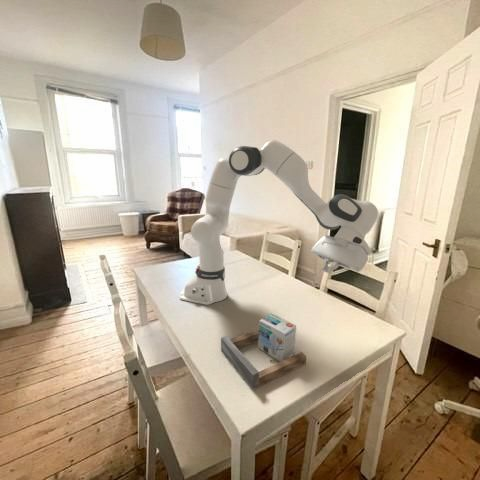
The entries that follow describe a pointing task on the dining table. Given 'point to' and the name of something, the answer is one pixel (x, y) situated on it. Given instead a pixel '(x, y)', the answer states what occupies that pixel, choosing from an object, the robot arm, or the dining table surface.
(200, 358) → the dining table surface
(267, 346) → the light bulb box
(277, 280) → the dining table surface
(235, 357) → the guide dock
